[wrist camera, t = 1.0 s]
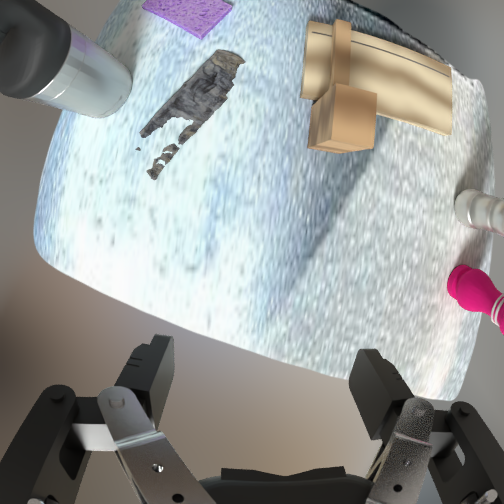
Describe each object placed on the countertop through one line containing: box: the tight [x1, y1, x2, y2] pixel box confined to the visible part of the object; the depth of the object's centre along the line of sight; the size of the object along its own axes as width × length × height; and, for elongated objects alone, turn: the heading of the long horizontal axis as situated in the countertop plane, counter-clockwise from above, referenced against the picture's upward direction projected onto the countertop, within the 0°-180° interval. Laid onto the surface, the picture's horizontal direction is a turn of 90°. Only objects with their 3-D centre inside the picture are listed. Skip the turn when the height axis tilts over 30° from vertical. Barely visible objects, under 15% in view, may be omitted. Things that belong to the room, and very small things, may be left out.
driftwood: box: [136, 50, 245, 180], centre depth 36 cm, size 21×7×2 cm, turn 136°
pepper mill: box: [447, 265, 504, 335], centre depth 34 cm, size 7×7×20 cm
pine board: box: [300, 21, 452, 136], centre depth 34 cm, size 12×24×2 cm, turn 84°
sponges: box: [142, 0, 232, 39], centre depth 31 cm, size 7×13×2 cm, turn 51°
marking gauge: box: [307, 19, 377, 154], centre depth 30 cm, size 18×4×12 cm, turn 174°
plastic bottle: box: [455, 189, 504, 237], centre depth 31 cm, size 6×7×20 cm
